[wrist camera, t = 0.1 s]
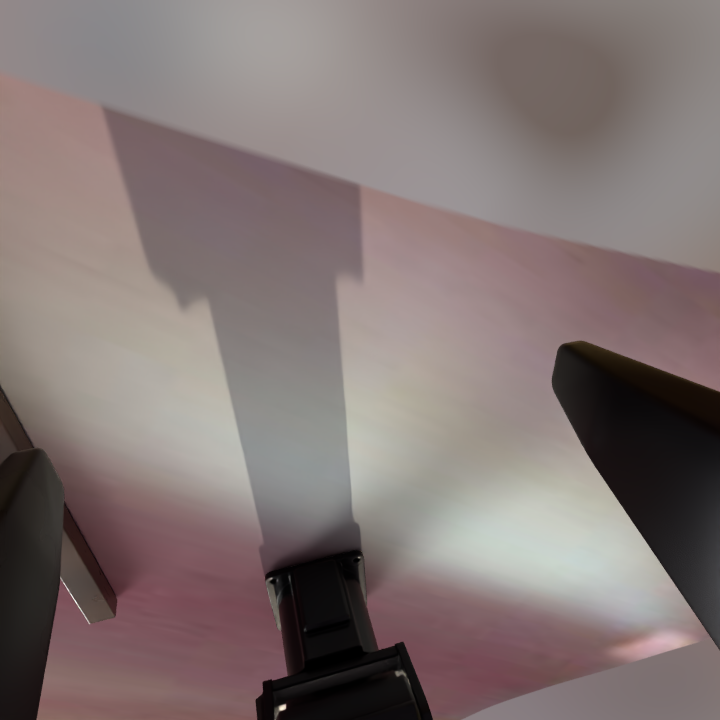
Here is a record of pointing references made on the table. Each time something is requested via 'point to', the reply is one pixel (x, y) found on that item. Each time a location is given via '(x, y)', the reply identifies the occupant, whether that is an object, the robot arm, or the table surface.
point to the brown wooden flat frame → (65, 539)
